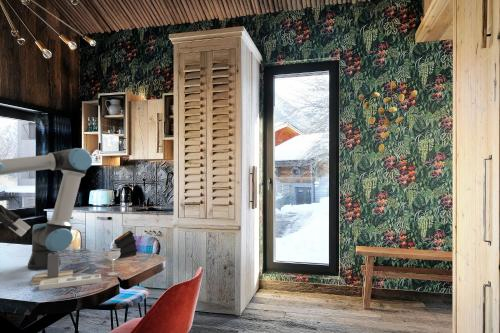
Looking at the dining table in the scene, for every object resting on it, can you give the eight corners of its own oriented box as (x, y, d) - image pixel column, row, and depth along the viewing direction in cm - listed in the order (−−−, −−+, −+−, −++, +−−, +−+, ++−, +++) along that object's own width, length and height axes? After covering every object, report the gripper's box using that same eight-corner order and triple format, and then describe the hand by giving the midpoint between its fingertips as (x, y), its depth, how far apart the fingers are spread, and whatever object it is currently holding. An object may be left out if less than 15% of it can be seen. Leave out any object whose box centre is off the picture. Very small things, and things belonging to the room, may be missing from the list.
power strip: (40, 286, 145) (41, 279, 145) (100, 279, 156) (100, 273, 156) (38, 291, 139) (39, 284, 139) (101, 283, 150) (101, 277, 150)
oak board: (35, 276, 159) (35, 274, 159) (72, 272, 166) (72, 270, 166) (30, 286, 145) (30, 283, 145) (71, 281, 152) (71, 279, 152)
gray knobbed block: (48, 275, 157) (48, 251, 157) (58, 274, 159) (59, 251, 159) (47, 278, 153) (47, 253, 153) (58, 277, 155) (58, 253, 155)
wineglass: (105, 276, 160) (106, 251, 161) (105, 272, 166) (106, 248, 167) (120, 274, 163) (120, 250, 163) (120, 271, 169) (120, 247, 169)
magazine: (141, 251, 206) (132, 231, 201) (123, 264, 196) (113, 243, 192) (138, 250, 208) (129, 230, 204) (120, 263, 199) (110, 242, 194)
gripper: (-15, 204, 154) (23, 233, 161) (-32, 209, 132) (14, 243, 139) (-1, 192, 157) (36, 221, 163) (-15, 196, 135) (29, 229, 141)
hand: (26, 231), depth 151 cm, fingers open, 13 cm apart
